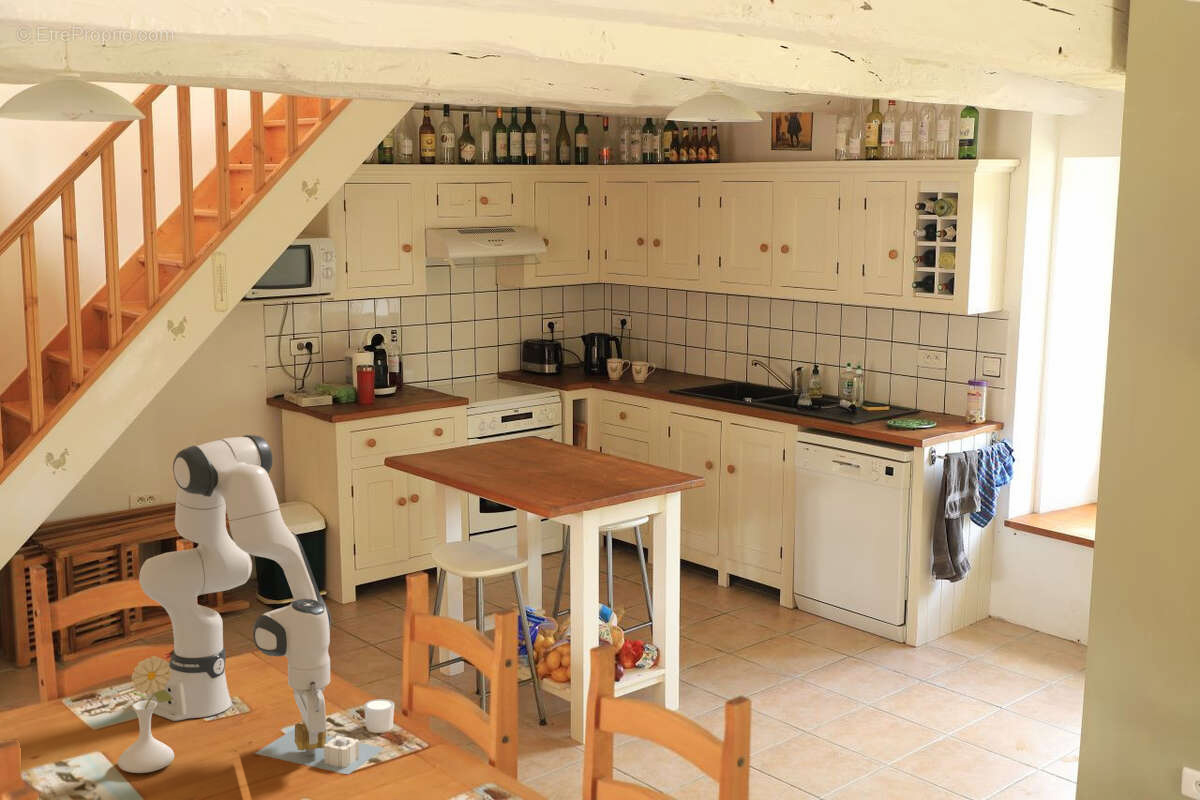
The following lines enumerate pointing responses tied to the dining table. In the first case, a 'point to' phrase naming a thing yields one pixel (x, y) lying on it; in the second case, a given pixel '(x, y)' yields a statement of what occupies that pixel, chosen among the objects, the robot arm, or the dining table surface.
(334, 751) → the white gear
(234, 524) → the robot arm
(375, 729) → the white cup
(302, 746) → the gear
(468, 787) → the dining table surface
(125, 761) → the flower in vase
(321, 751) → the board
